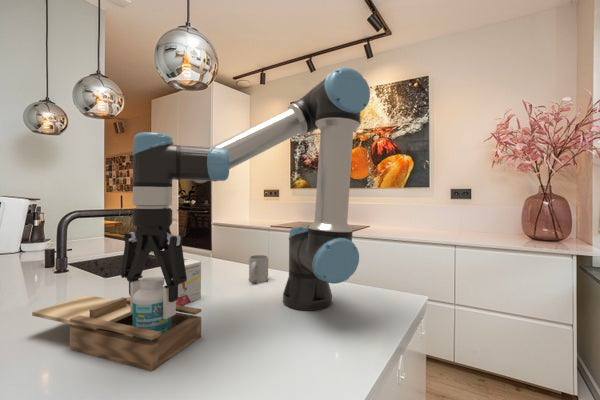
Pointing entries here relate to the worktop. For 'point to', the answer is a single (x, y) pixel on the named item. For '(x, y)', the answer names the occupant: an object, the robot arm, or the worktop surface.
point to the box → (133, 351)
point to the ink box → (190, 283)
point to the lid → (86, 310)
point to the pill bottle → (150, 306)
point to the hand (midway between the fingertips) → (152, 313)
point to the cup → (258, 268)
